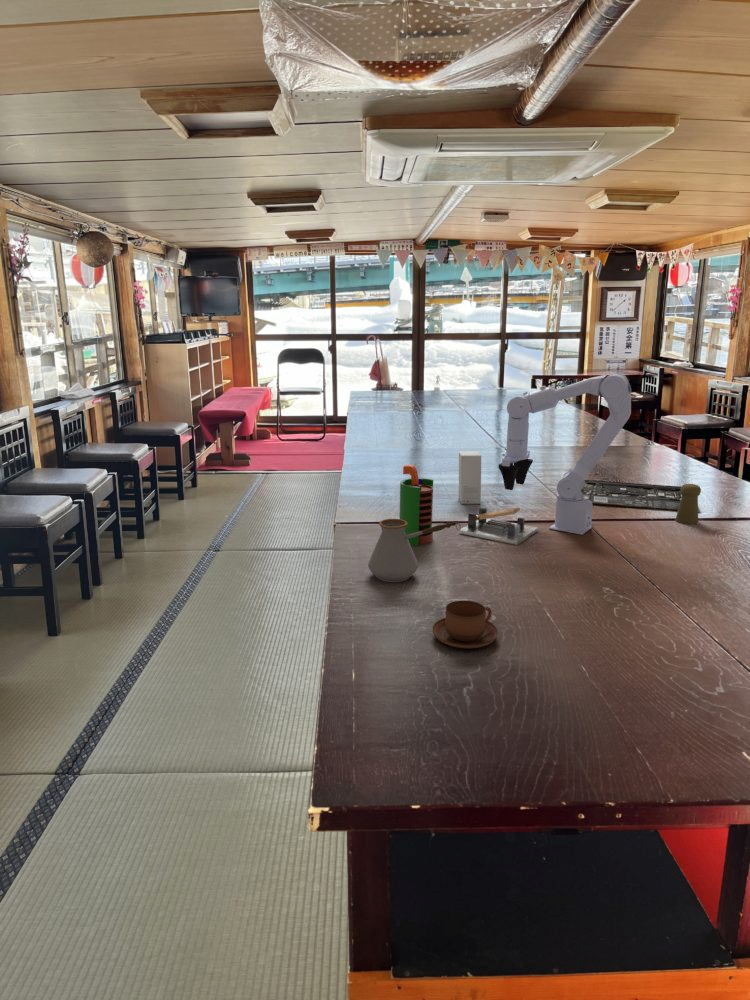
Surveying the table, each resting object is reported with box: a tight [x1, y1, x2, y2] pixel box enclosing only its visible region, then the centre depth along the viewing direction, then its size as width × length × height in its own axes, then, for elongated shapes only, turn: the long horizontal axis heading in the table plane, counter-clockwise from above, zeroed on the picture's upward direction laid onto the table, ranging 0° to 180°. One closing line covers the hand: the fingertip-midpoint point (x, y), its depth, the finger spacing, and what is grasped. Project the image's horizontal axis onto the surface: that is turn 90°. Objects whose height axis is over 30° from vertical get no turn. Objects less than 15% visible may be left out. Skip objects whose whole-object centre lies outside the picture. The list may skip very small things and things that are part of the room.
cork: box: [674, 483, 702, 525], centre depth 194 cm, size 6×6×11 cm
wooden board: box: [476, 507, 521, 520], centre depth 186 cm, size 13×5×1 cm, turn 55°
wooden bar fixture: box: [458, 507, 539, 546], centre depth 186 cm, size 17×14×5 cm
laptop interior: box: [581, 479, 700, 512], centre depth 221 cm, size 35×28×2 cm
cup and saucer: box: [432, 599, 499, 650], centre depth 126 cm, size 12×12×6 cm
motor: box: [399, 464, 434, 547], centre depth 179 cm, size 10×9×20 cm
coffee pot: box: [367, 518, 462, 583], centre depth 153 cm, size 21×12×15 cm, turn 66°
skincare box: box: [458, 450, 482, 505], centre depth 216 cm, size 8×7×16 cm
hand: (514, 486), depth 193 cm, fingers open, 7 cm apart
